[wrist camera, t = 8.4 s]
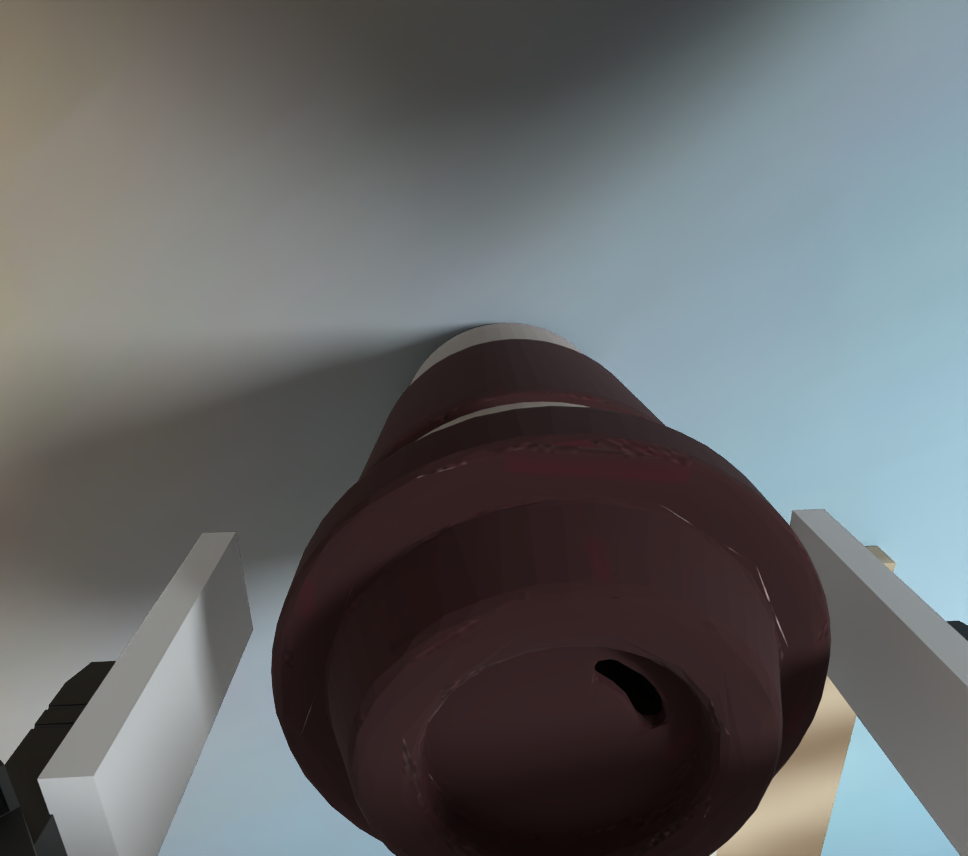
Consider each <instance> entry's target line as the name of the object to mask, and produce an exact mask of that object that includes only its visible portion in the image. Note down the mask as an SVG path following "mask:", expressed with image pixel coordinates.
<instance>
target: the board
mask: <svg viewBox="0 0 968 856" xmlns="http://www.w3.org/2000/svg"><path fill="white" fill-rule="evenodd" d="M866 548H867V549H868V550H869V551H870V552H871V553H872V554H873V555H874V556H876V557H877V558H878V559H879V560H880V561H881V562H882V563H883V564H884V565H885V566H886V567H888V568H889V569H890V570H891V571H892V572H894V568H895V564H896V563H895V562H894V561H893V560H892V559H891V558H890V557H889V556H888V555H887V554H886V553H884V552H883V551H882V550H881V549H880V548H879V547H878V546H867V547H866ZM855 719H856V714H855V713H854V711H853V710H852V708H851V707H850V706H849V704H848V703H847V702H846V700H845V699H844V698H843V696H842V695H841V694H840V692H839V691H838V690H837V688H836V687H835V685H834V684H833V683H832V681H831V680H830V679H829V677H828V676H827V677H826V682H825V686H824V690H823V695H822V699H821V701H820V704H819V706H818V709H817V712H816V714H815V717H814V719H813V721H812V723H811V725H810V727H809V728H808V730H807V732H806V734H805V735H804V737H803V739H802V741H801V743H800V744H799V746H798V748H797V749H796V750H795V752H794V753H793V754H792V756H791V757H790V758H789V760H788V761H787V762H786V764H785V765H784V766H783V767H782V768H781V770H780V771H779V772H778V773H777V774H776V775H775V776H774V778H773V779H772V781H771V783H770V785H769V786H768V788H767V790H766V792H765V794H764V796H763V798H762V800H761V802H760V804H759V806H758V808H757V810H756V811H755V812H754V813H753V814H752V816H751V817H750V818H749V819H748V820H747V822H746V823H745V824H744V825H743V826H742V827H741V829H740V830H739V831H738V832H737V833H736V834H735V835H734V836H733V837H732V838H731V839H730V840H729V841H727V842H726V843H725V844H724V845H723V846H721V847H720V848H719V849H718V850H717V854H716V856H820V855H821V851H822V847H823V843H824V840H825V836H826V832H827V828H828V824H829V820H830V816H831V812H832V809H833V805H834V801H835V797H836V793H837V789H838V785H839V781H840V777H841V774H842V770H843V766H844V762H845V758H846V754H847V750H848V746H849V742H850V739H851V735H852V731H853V727H854V723H855Z"/></svg>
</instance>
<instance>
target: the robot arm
mask: <svg viewBox="0 0 968 856" xmlns="http://www.w3.org/2000/svg"><path fill="white" fill-rule="evenodd" d="M790 527H791V528H792V530H793V531H794V532H795V534H796V535H797V536H798V538H799V539H800V541H801V542H802V544H803V546H804V547H805V549H806V550H807V552H808V554H809V556H810V558H811V560H812V563H813V565H814V567H815V569H816V571H817V573H818V576H819V578H820V581H821V584H822V587H823V590H824V593H825V596H826V600H827V605H828V611H829V616H830V630H831V649H830V660H829V666H828V672H827V676H828V677H829V679H830V680H831V681H832V683H833V684H834V685H835V687H836V688H837V690H838V691H839V692H840V694H841V695H842V696H843V698H844V699H845V700H846V702H847V703H848V704H849V706H850V707H851V708H852V710H853V711H854V713H855V714H856V715H857V717H858V718H859V719H860V721H861V722H862V723H863V725H864V726H865V727H866V729H867V730H868V732H869V733H870V734H871V736H872V737H873V738H874V740H875V741H876V742H877V744H878V745H879V746H880V748H881V749H882V750H883V752H884V753H885V755H886V756H887V757H888V759H889V760H890V761H891V763H892V764H893V765H894V767H895V768H896V769H897V771H898V772H899V773H900V775H901V776H902V778H903V779H904V780H905V782H906V783H907V784H908V786H909V787H910V788H911V790H912V791H913V792H914V794H915V795H916V796H917V798H918V799H919V801H920V802H921V803H922V805H923V806H924V807H925V809H926V810H927V811H928V813H929V814H930V815H931V817H932V818H933V819H934V821H935V822H936V824H937V825H938V826H939V828H940V829H941V830H942V832H943V833H944V834H945V836H946V837H947V838H948V840H949V841H950V843H951V844H952V845H953V847H954V848H955V849H956V851H957V852H958V853H959V855H960V856H968V625H966V624H964V623H962V622H960V621H945V620H944V619H943V618H942V617H941V616H940V615H939V614H938V613H936V612H935V611H934V610H933V609H932V608H931V607H930V606H929V605H928V604H927V603H926V602H924V601H923V600H922V599H921V598H920V597H919V596H918V595H917V594H916V593H915V592H914V591H913V590H911V589H910V588H909V587H908V586H907V585H906V584H905V583H904V582H903V581H902V580H901V579H899V578H898V577H897V576H896V575H895V574H894V573H893V572H892V571H891V570H890V569H889V568H888V567H886V566H885V565H884V564H883V563H882V562H881V561H880V560H879V559H878V558H877V557H876V556H874V555H873V554H872V553H871V552H870V551H869V550H868V549H867V548H866V547H865V546H864V545H863V544H861V543H860V542H859V541H858V540H857V539H856V538H855V537H854V536H853V535H852V534H851V533H850V532H848V531H847V530H846V529H845V528H844V527H843V526H842V525H841V524H840V523H839V522H838V521H836V520H835V519H834V518H833V517H832V516H831V515H830V514H829V513H828V512H827V511H826V510H825V509H811V510H793V511H792V516H791V522H790ZM252 631H253V626H252V620H251V614H250V609H249V603H248V597H247V592H246V586H245V580H244V575H243V569H242V563H241V558H240V552H239V546H238V541H237V535H236V532H217V533H202V534H201V536H200V537H199V539H198V540H197V542H196V543H195V545H194V546H193V548H192V549H191V551H190V552H189V554H188V555H187V557H186V558H185V560H184V561H183V563H182V564H181V566H180V567H179V569H178V570H177V572H176V573H175V575H174V576H173V578H172V579H171V581H170V582H169V583H168V585H167V586H166V588H165V589H164V591H163V592H162V594H161V595H160V597H159V598H158V600H157V601H156V603H155V604H154V606H153V607H152V609H151V610H150V612H149V613H148V615H147V616H146V618H145V619H144V621H143V622H142V624H141V625H140V627H139V628H138V630H137V631H136V633H135V634H134V636H133V637H132V639H131V640H130V642H129V643H128V645H127V646H126V648H125V649H124V650H123V652H122V653H121V655H120V656H119V658H118V659H117V661H106V662H91V663H90V664H89V665H87V666H86V667H85V668H84V669H82V670H81V671H80V672H78V673H77V674H76V675H75V676H73V677H72V678H71V679H70V680H68V681H67V682H66V683H65V684H64V685H63V687H62V688H61V690H60V691H59V692H58V694H57V695H56V696H55V698H54V699H53V700H52V702H51V703H50V704H49V709H48V710H45V711H44V712H43V714H42V715H41V717H40V718H39V719H38V721H37V722H36V723H35V728H34V729H31V730H30V731H29V733H28V734H27V735H26V737H25V738H24V739H23V741H22V742H21V743H20V745H19V746H18V748H17V749H16V750H15V752H14V753H13V754H12V756H11V757H10V758H9V760H8V761H7V762H6V764H5V765H4V764H3V762H2V761H1V760H0V856H157V855H158V853H159V851H160V848H161V846H162V844H163V841H164V839H165V836H166V834H167V832H168V829H169V827H170V825H171V822H172V820H173V818H174V815H175V813H176V810H177V808H178V806H179V803H180V801H181V799H182V796H183V794H184V792H185V789H186V787H187V784H188V782H189V780H190V777H191V775H192V773H193V770H194V768H195V766H196V763H197V761H198V758H199V756H200V754H201V751H202V749H203V747H204V744H205V742H206V740H207V737H208V735H209V732H210V730H211V728H212V725H213V723H214V721H215V718H216V716H217V714H218V711H219V709H220V707H221V704H222V702H223V699H224V697H225V695H226V692H227V690H228V688H229V685H230V683H231V681H232V678H233V676H234V673H235V671H236V669H237V666H238V664H239V662H240V659H241V657H242V655H243V652H244V650H245V647H246V645H247V643H248V640H249V638H250V636H251V633H252Z"/></svg>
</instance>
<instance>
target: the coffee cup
mask: <svg viewBox="0 0 968 856" xmlns="http://www.w3.org/2000/svg"><path fill="white" fill-rule="evenodd" d="M830 649H831V630H830V616H829V611H828V605H827V600H826V596H825V593H824V590H823V587H822V584H821V581H820V578H819V576H818V573H817V571H816V569H815V567H814V565H813V563H812V560H811V558H810V556H809V554H808V552H807V550H806V549H805V547H804V546H803V544H802V542H801V541H800V539H799V538H798V536H797V535H796V534H795V532H794V531H793V530H792V528H791V527H790V526H789V524H788V523H787V522H786V521H785V520H784V519H783V518H782V516H781V515H780V514H779V513H778V512H777V511H776V510H775V509H774V507H773V506H772V505H771V504H770V503H769V502H768V501H767V500H766V498H765V497H764V496H763V495H762V494H761V493H760V492H759V491H758V490H757V488H756V487H755V486H754V485H753V484H752V483H751V482H750V481H749V480H748V479H747V478H746V477H745V475H743V474H742V473H741V472H740V471H739V470H737V469H736V468H735V467H734V466H733V465H732V464H730V463H729V462H728V461H727V460H726V459H724V458H723V457H722V456H720V455H719V454H717V453H716V452H715V451H713V450H712V449H710V448H709V447H708V446H706V445H704V444H702V443H700V442H698V441H696V440H695V439H693V438H691V437H689V436H687V435H685V434H683V433H681V432H678V431H676V430H674V429H671V428H669V427H666V426H665V425H664V424H663V423H662V422H661V421H660V420H659V419H658V418H657V417H656V416H655V415H654V414H653V413H652V412H651V411H650V410H649V409H648V408H647V407H646V406H645V405H644V404H643V403H642V402H641V401H640V400H638V399H637V398H636V397H635V396H634V395H633V394H632V393H631V392H630V391H629V390H628V389H627V388H626V387H625V386H624V385H623V384H622V383H621V382H620V381H619V380H618V379H617V378H616V377H615V376H614V375H613V374H612V373H610V372H609V371H608V370H607V369H605V368H604V367H603V366H601V365H600V364H599V363H597V362H596V361H594V360H592V359H591V358H589V357H587V356H586V355H584V354H582V353H581V352H580V351H579V350H578V349H577V348H576V347H575V346H574V345H572V344H571V343H570V342H568V341H567V340H565V339H564V338H562V337H560V336H558V335H557V334H555V333H552V332H550V331H547V330H545V329H543V328H539V327H535V326H531V325H526V324H519V323H497V324H491V325H485V326H481V327H477V328H473V329H470V330H468V331H465V332H463V333H461V334H459V335H457V336H455V337H453V338H452V339H450V340H448V341H447V342H445V343H444V344H443V345H441V346H440V347H439V348H438V349H436V350H435V351H434V352H433V353H432V354H431V355H430V356H429V357H428V358H427V359H426V360H425V362H424V363H423V364H422V366H421V367H420V368H419V370H418V371H417V373H416V375H415V376H414V378H413V380H412V382H411V384H410V386H409V387H408V388H407V390H406V391H405V392H404V393H403V394H402V396H401V397H400V399H399V400H398V402H397V403H396V405H395V406H394V408H393V410H392V411H391V413H390V415H389V417H388V419H387V421H386V423H385V426H384V428H383V430H382V432H381V434H380V436H379V438H378V440H377V443H376V445H375V447H374V449H373V451H372V453H371V455H370V458H369V460H368V462H367V464H366V466H365V468H364V470H363V472H362V475H361V477H360V479H359V481H358V482H357V483H356V484H354V485H353V486H352V487H351V488H350V489H349V490H348V491H347V492H346V493H345V494H344V495H343V496H342V497H341V499H340V500H339V501H338V502H337V503H336V504H335V505H334V507H333V508H332V509H331V510H330V511H329V513H328V514H327V515H326V516H325V518H324V519H323V520H322V522H321V523H320V525H319V527H318V529H317V530H316V532H315V534H314V535H313V537H312V539H311V540H310V542H309V544H308V546H307V547H306V549H305V551H304V553H303V556H302V558H301V561H300V563H299V566H298V569H297V571H296V574H295V576H294V579H293V581H292V584H291V586H290V589H289V591H288V594H287V596H286V599H285V602H284V605H283V608H282V611H281V614H280V617H279V620H278V623H277V627H276V632H275V638H274V643H273V648H272V667H271V674H272V688H273V696H274V702H275V708H276V714H277V716H278V719H279V722H280V725H281V727H282V730H283V733H284V735H285V738H286V740H287V743H288V745H289V748H290V750H291V752H292V754H293V755H294V757H295V759H296V761H297V762H298V764H299V766H300V768H301V770H302V771H303V773H304V775H305V776H306V778H307V779H308V780H309V781H310V782H311V783H312V784H313V786H314V787H315V788H316V789H317V790H318V791H319V792H320V794H321V795H322V796H323V797H324V798H325V799H326V801H327V802H328V803H329V804H330V805H331V806H332V807H333V808H334V809H336V810H337V811H338V812H339V813H341V814H342V815H343V816H344V817H346V818H347V819H348V820H349V821H351V822H352V823H353V824H354V825H356V826H357V827H358V828H360V829H361V830H363V831H364V832H366V833H368V834H369V835H371V836H373V837H375V838H376V839H378V840H380V841H382V842H383V843H384V844H385V846H386V847H387V848H388V849H389V850H390V851H391V852H392V853H393V854H395V855H396V856H710V855H711V854H713V853H714V852H715V851H716V850H718V849H719V848H720V847H721V846H723V845H724V844H725V843H726V842H727V841H729V840H730V839H731V838H732V837H733V836H734V835H735V834H736V833H737V832H738V831H739V830H740V829H741V827H742V826H743V825H744V824H745V823H746V822H747V820H748V819H749V818H750V817H751V816H752V814H753V813H754V812H755V811H756V810H757V808H758V806H759V804H760V802H761V800H762V798H763V796H764V794H765V792H766V790H767V788H768V786H769V785H770V783H771V781H772V779H773V778H774V776H775V775H776V774H777V773H778V772H779V771H780V770H781V768H782V767H783V766H784V765H785V764H786V762H787V761H788V760H789V758H790V757H791V756H792V754H793V753H794V752H795V750H796V749H797V748H798V746H799V744H800V743H801V741H802V739H803V737H804V735H805V734H806V732H807V730H808V728H809V727H810V725H811V723H812V721H813V719H814V717H815V714H816V712H817V709H818V706H819V704H820V701H821V699H822V695H823V690H824V686H825V682H826V677H827V672H828V666H829V660H830Z"/></svg>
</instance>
